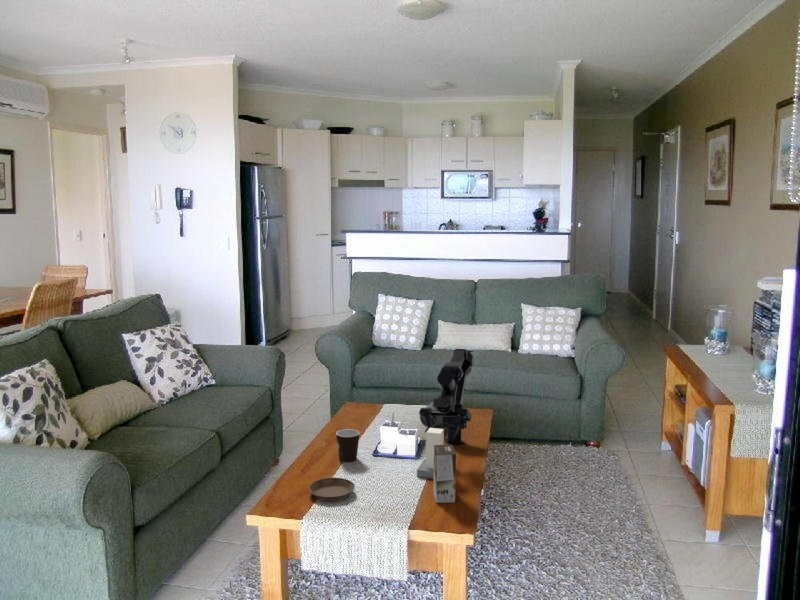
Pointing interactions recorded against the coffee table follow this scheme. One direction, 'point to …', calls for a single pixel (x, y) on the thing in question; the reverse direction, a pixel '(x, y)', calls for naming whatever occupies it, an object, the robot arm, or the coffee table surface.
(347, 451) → the coffee mug
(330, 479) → the saucer
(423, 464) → the plinth
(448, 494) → the coffee box
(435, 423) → the bluetooth speaker
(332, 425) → the coffee table surface
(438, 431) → the post
